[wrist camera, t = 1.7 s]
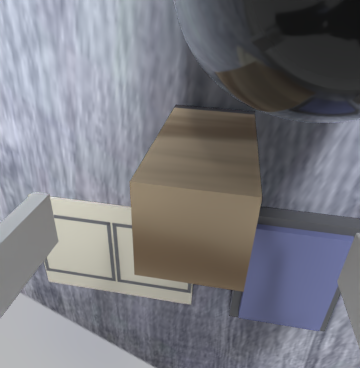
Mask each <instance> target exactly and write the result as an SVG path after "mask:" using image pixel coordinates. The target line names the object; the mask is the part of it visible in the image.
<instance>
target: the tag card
mask: <svg viewBox="0 0 360 368" xmlns="http://www.w3.org/2000/svg"><path fill="white" fill-rule="evenodd" d="M30 195H31V194H29V195H28V197H29V196H30ZM50 200H51V205H52V210H53V215H54V220H55V225H56V231H57V236H58V241H59V242H58V243H57V244H56V246H55V247H54V248H53V249H52V251H51V252H50V253H49V255H48V256H47V257H46V259H45V260H44V264H45V268H46V272H47V276H48V280H49V282H54V283H60V284H66V285H73V286H79V287H85V288H91V289H97V290H103V291H109V292H116V293H122V294H128V295H134V296H140V297H146V298H152V299H159V300H165V301H171V302H177V303H183V304H189V305H191V301H192V288H193V284H190V283H184V282H178V281H171V280H165V279H158V278H152V277H145V276H139V275H134V256H133V237H132V218H131V207H129V206H121V205H113V204H105V203H97V202H90V201H82V200H74V199H66V198H58V197H50Z"/></svg>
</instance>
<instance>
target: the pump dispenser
mask: <svg viewBox="0 0 360 368" xmlns="http://www.w3.org/2000/svg"><path fill="white" fill-rule="evenodd" d="M173 1H174V6H175V10H176V14H177V18H178V21H179V24H180V27H181V30H182V33H183V35H184V38H185V40H186V42H187V44H188V46H189V48H190V50H191V52H192V53H193V55H194V57H195V58H196V60H197V61H198V63H199V64H200V65H201V67H202V68H203V69H204V71H205V72H206V73H207V74H208V75H209V76H210V77H211V78H212V80H213V81H214V82H215V83H217V84H218V85H219V86H220V87H221V88H222V89H223V90H225V91H226V92H227V93H229V94H230V95H231V96H233V97H234V98H236V99H237V100H239V101H241V102H242V103H244V104H246V105H248V106H250V107H252V108H254V109H256V110H259V111H261V112H264V113H267V114H269V115H273V116H276V117H279V118H283V119H288V120H293V121H300V122H309V123H338V122H347V121H355V120H360V0H173Z"/></svg>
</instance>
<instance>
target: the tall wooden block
mask: <svg viewBox="0 0 360 368" xmlns="http://www.w3.org/2000/svg"><path fill="white" fill-rule="evenodd" d="M130 199H131V218H132V237H133V256H134V275H139V276H145V277H152V278H158V279H165V280H171V281H178V282H184V283H190V284H197V285H203V286H210V287H216V288H222V289H229V290H235V291H242V292H244V288H245V283H246V277H247V272H248V267H249V262H250V257H251V252H252V247H253V242H254V237H255V232H256V227H257V222H258V217H259V212H260V207H261V202H262V188H261V177H260V166H259V155H258V144H257V133H256V121H255V111H243V110H232V109H220V108H208V107H197V106H185V105H175V107H174V109H173V110H172V112H171V114H170V115H169V117H168V119H167V120H166V122H165V124H164V125H163V127H162V129H161V130H160V132H159V134H158V135H157V137H156V139H155V140H154V142H153V144H152V145H151V147H150V149H149V150H148V152H147V154H146V155H145V157H144V159H143V160H142V162H141V164H140V165H139V167H138V169H137V170H136V172H135V174H134V175H133V177H132V179H131V180H130Z"/></svg>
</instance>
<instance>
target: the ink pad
mask: <svg viewBox="0 0 360 368" xmlns="http://www.w3.org/2000/svg"><path fill="white" fill-rule="evenodd" d="M356 233H360V219H358V218H350V217H342V216H334V215H325V214H317V213H309V212H301V211H292V210H284V209H276V208H268V207H260V212H259V217H258V222H257V227H256V232H255V237H254V242H253V247H252V252H251V257H250V262H249V267H248V272H247V277H246V283H245V288H244V292H242V291H235V290H232V295H231V301H230V312H229V316H233V317H238V318H242V319H248V320H254V321H260V322H266V323H273V324H279V325H285V326H291V327H297V328H303V329H309V330H315V331H325V329H326V326H327V324H328V322H329V319H330V317H331V315H332V312H333V310H334V307H335V305H336V303H337V300H338V298H339V296H340V293H341V292H340V289H339V286H338V283H337V281H338V278H339V276H340V273H341V270H342V268H343V265H344V263H345V260H346V258H347V255H348V253H349V250H350V248H351V245H352V242H353V240H354V237H355V235H356Z"/></svg>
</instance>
